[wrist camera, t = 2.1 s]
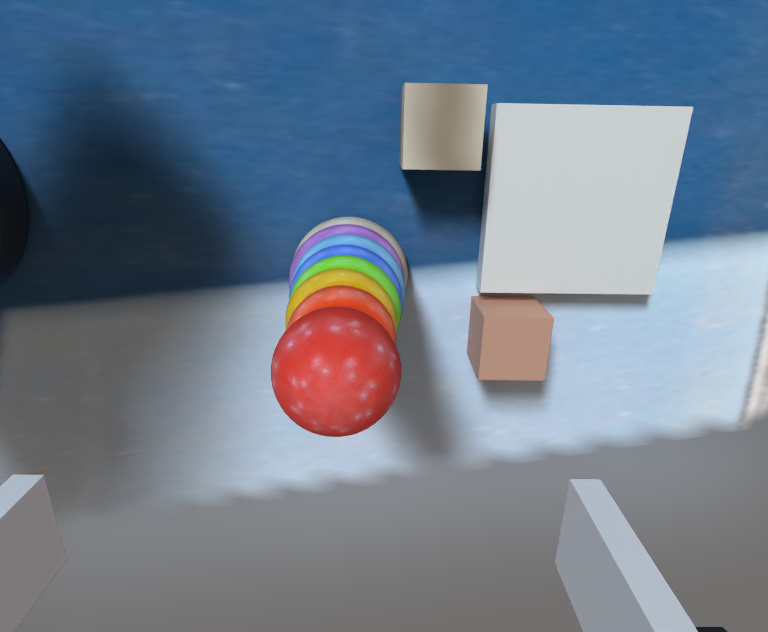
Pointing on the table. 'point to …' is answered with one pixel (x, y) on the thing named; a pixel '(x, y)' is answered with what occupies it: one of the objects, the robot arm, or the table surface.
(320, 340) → the stacking toy
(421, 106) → the birch block
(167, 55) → the table surface
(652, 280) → the white square slab
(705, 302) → the table surface
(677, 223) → the table surface
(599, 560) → the robot arm
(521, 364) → the terracotta block
